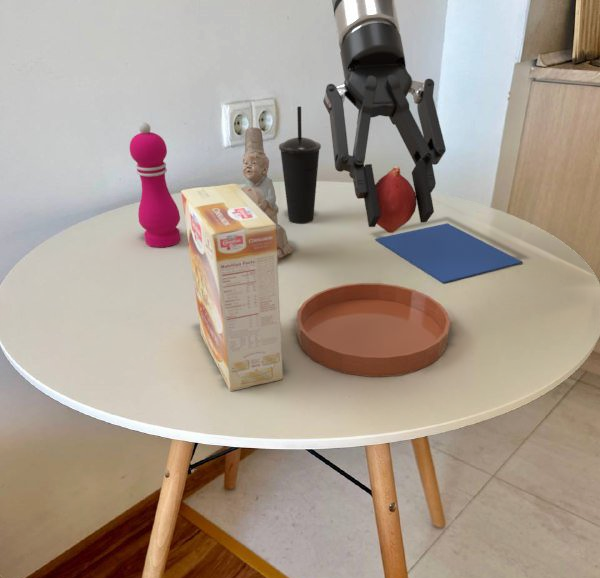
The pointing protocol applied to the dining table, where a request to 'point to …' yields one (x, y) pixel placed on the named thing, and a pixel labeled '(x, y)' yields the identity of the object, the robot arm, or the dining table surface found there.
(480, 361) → the dining table surface
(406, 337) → the bowl
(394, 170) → the onion
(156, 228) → the pepper mill
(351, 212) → the dining table surface
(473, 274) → the blue cloth
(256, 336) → the coffeecake box
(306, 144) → the drinking cup
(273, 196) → the figurine
